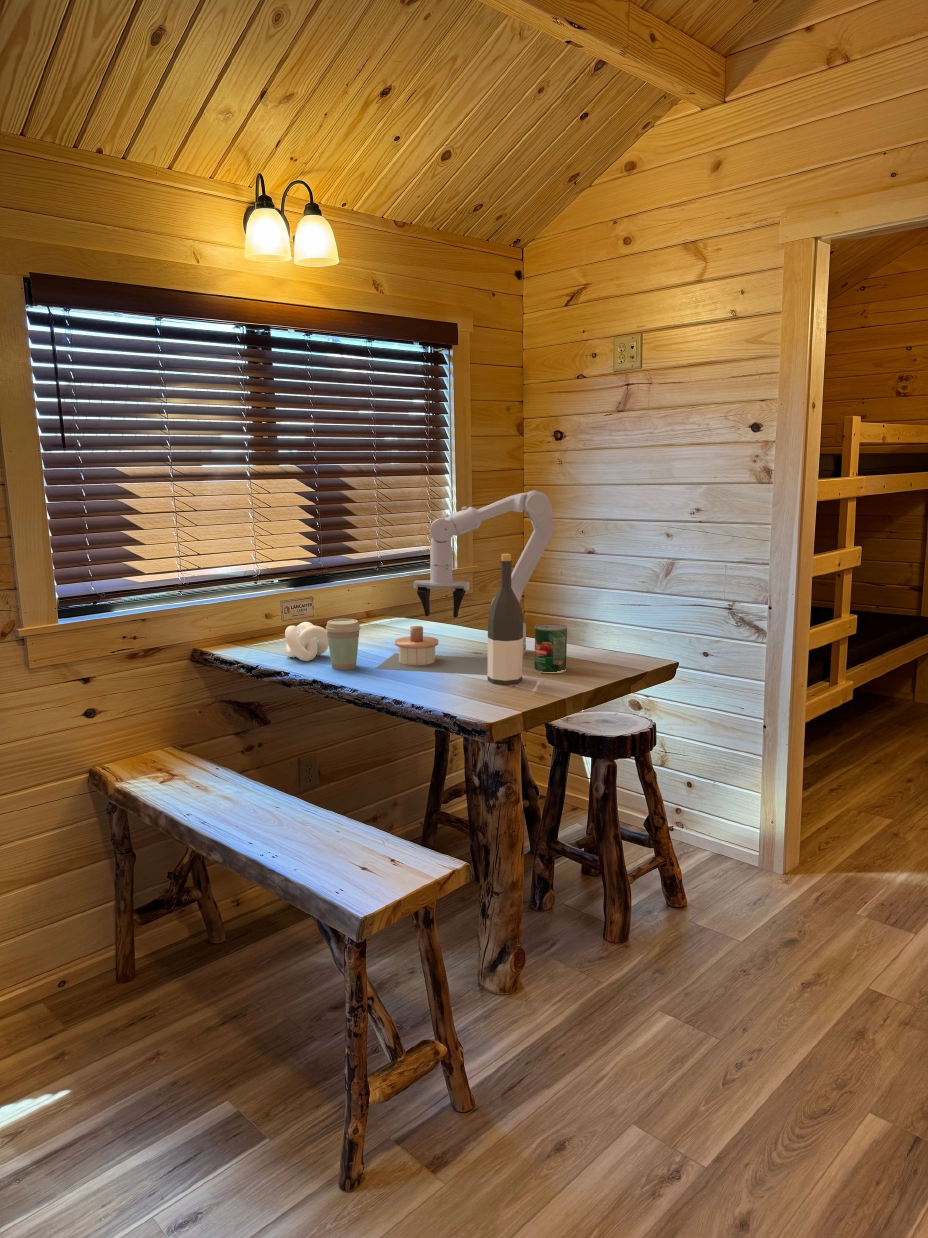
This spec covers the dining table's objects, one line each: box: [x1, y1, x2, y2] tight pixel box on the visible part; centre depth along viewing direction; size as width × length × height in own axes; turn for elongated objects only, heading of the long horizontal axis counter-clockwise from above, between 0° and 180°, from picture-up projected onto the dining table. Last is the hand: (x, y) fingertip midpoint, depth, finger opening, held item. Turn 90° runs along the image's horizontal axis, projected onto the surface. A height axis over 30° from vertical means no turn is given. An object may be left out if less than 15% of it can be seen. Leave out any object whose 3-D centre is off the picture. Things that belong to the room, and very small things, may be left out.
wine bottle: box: [487, 553, 524, 686], centre depth 193 cm, size 8×8×30 cm
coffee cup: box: [324, 618, 361, 671], centre depth 207 cm, size 8×9×12 cm
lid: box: [394, 625, 439, 649], centre depth 213 cm, size 11×11×4 cm
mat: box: [375, 652, 488, 676], centre depth 211 cm, size 28×17×1 cm, turn 78°
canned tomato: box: [534, 622, 568, 673], centre depth 206 cm, size 8×8×11 cm
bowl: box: [398, 646, 436, 665], centre depth 214 cm, size 9×9×4 cm
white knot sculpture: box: [284, 621, 329, 662], centre depth 218 cm, size 11×12×9 cm
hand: (441, 616), depth 221 cm, fingers open, 7 cm apart
